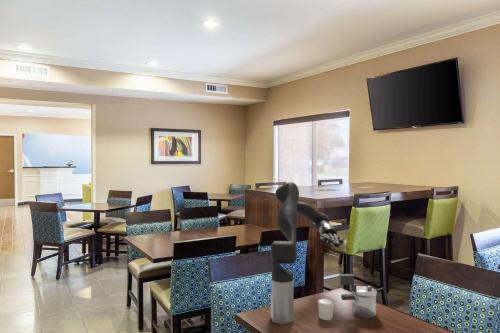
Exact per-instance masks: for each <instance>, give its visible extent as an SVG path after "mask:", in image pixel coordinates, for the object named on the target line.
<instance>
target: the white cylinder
mask: <svg viewBox="0 0 500 333" xmlns="http://www.w3.org/2000/svg"><path fill="white" fill-rule="evenodd" d="M317 307H318V318H319V319H321V320H323V321H331V320H333V318H334V317H333V316H334V307H335V301H334V300H333V299H330V298H319V299H318V300H317Z"/></svg>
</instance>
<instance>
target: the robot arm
mask: <svg viewBox="0 0 500 333" xmlns="http://www.w3.org/2000/svg"><path fill="white" fill-rule="evenodd" d="M275 196H276V199H277V200H278V201H279V203H281V204H282V205H281V207H279V210H278V213H277V218H276V219H277V220H276V225H277V228H278V229H279V231H280V232H281V233H282V234H283V235H284V237H285V238H286V239H287V240H283V241H282V240H273V241H272V242H271V246H270V259H271V260H270V262H271V295H270V319H271V321H272V323H273V324H281V325H285V324H286V325H287V324H290V323H291V324H292V323H293V321H294V273H293V271H291V270H289V269H287V268H286V267H283V266H282V265H280V264H285V265H286V264H288V265H290V264H291V265H293V264H295V263H296V261H297V257H298V256H297V254H298V247H297V226H298V225H297V223H298V214H300V215H302V217H303V218H305V219H306V220H307V221H309V222H311V223H310V224H311V228H312V229H313V230H315V231H316V232H318V233H319V234H320V237H319V240H320V241H322V242H325V243H327V244H328V245H329V244H331V245H332V246H334V247H335V248H338V249H339V247H340V246H341V245H342V244H345V240H346V237H344V236H343V237H340V236H339V235H338V232H337V231H336V229H335V228H334V226H332V225H331V224H330V218H329V216H328V215H327V214H325V213H323V212H322V211H321V212H320V211H318V210H316V208H314V207H313V206H312V205H310V204H308V203H306V202H302V201H299V199H300V190H299V187H298V185H297V184H296V183H295V182H293V181H289V182H286V183H285V184H283V185H282V186H280V187H278V188H277V189H276V190H275Z"/></svg>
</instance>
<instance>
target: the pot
mask: <svg viewBox="0 0 500 333" xmlns="http://www.w3.org/2000/svg"><path fill="white" fill-rule="evenodd" d="M340 298H341V299H342V301H351V302H352V304H351V306H352V307H351V312H352V314H353V315H354V316H356V317H359V318H363V319H372V318H374V317H376V316H377V295H376V296H373V297H362V296H357V295H355V294H353V293H352V292H351V293H345V294H341V295H340Z"/></svg>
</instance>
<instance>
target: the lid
mask: <svg viewBox="0 0 500 333" xmlns="http://www.w3.org/2000/svg"><path fill="white" fill-rule="evenodd" d="M338 284H339V286H349V290H350V292H351V294H352V293H353V294H355V295H357V296H362V297H373V296H376V297H377V293H378V291H377V289H375V288H373V286H372V285H366V286H365V285H357V284H356V283H355V275H354V274H353V273H348V274H347V273H345V274H344V273H343V274H342V273H340V274H338Z"/></svg>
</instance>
